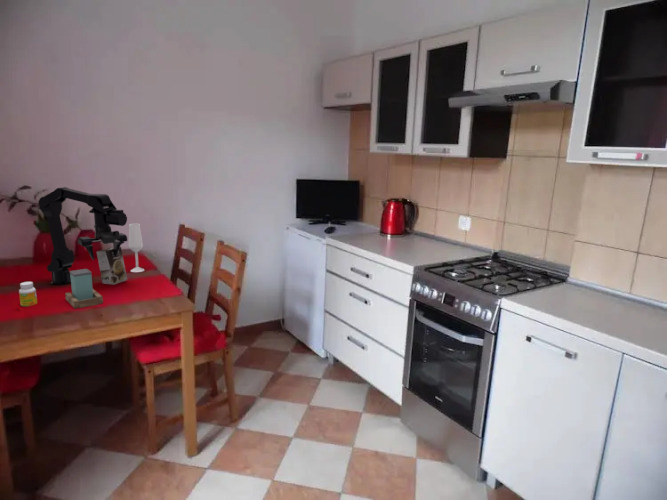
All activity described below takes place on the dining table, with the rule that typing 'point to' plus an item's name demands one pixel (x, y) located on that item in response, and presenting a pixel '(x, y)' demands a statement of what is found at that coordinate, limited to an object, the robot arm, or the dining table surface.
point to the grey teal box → (81, 284)
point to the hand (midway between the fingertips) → (104, 258)
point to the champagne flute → (135, 243)
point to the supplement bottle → (27, 294)
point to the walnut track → (84, 303)
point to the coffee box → (111, 266)
